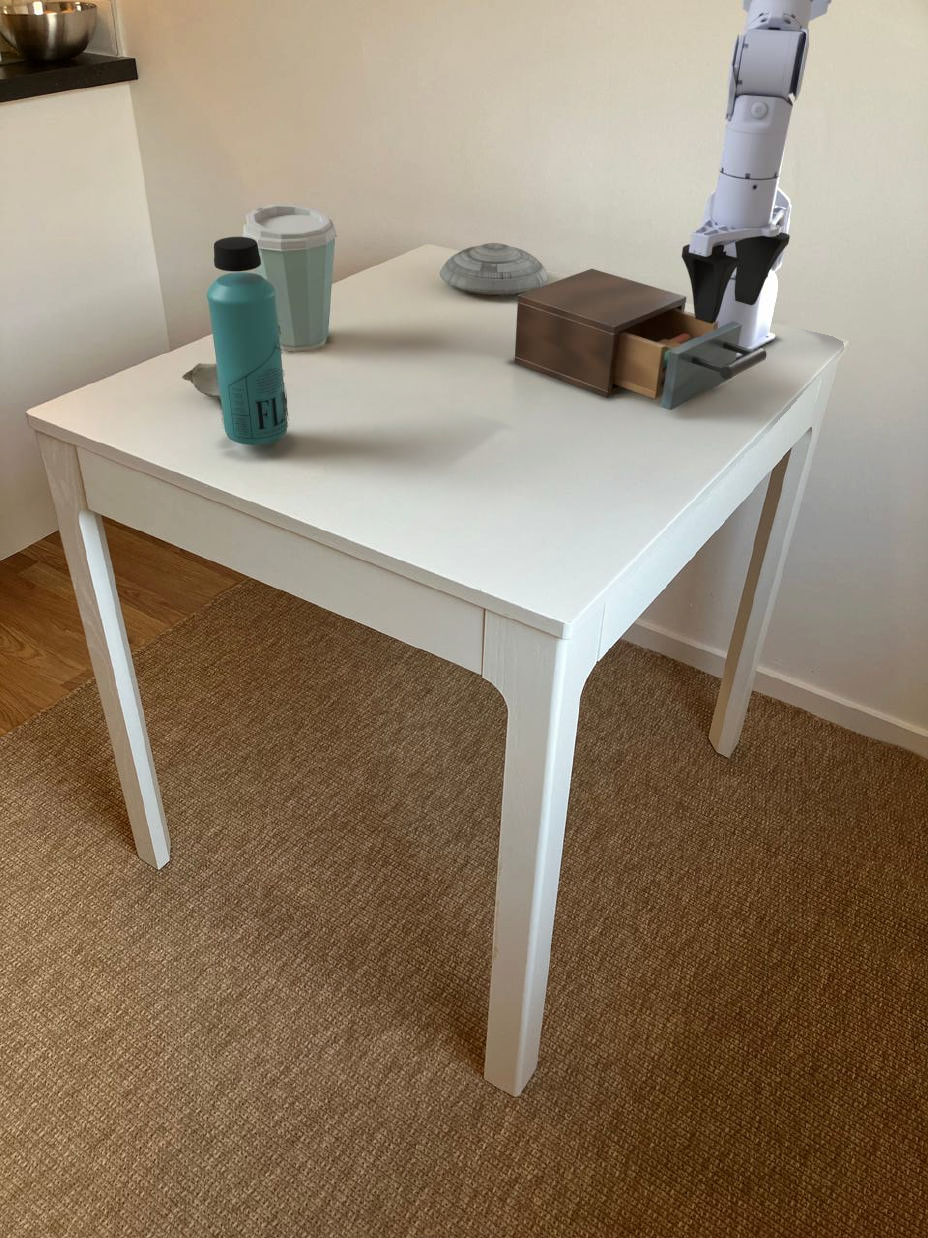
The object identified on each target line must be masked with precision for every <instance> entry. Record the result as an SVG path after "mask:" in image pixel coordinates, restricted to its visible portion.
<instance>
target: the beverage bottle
mask: <svg viewBox="0 0 928 1238" xmlns="http://www.w3.org/2000/svg"><path fill="white" fill-rule="evenodd" d="M213 255H214V256H213V264H214V267H215V268H216V269H218V270H220V271H224V272H230V273H226V274H223V275H220V276H219V277H218V278H217V279H215V280H214V281H213V282H212V284H211V285H210V286H209V288H208V289H207V291H206V299H207V303H208V309H209V317H210V324H211V333H212V339H213V347H214V356H215V363H214V364H215V365H216V364H217V375H218V382H219V389H218V391H219V390H220V397H219V398H218V400H220V402H219V409H220V410H219V411H220V415H221V416H220V417H221V422H222V424H223V429H224V432H225V434H226V436H227V438H228V439H229V440H231V441H233V442H234V443H237V444H241V445H246V446H259V445H260V446H261V445H266V444H270V443H274V442H277V441H279V440H281V439H282V438H284V436H285V435H286V434H287V431H288V427H289V425H290V424H289V422H290V418H289V411H288V396H287V390H285V389H286V387H287V385H285V383H286V382H285V381H284V377H285V370H284V369H283V360H282V354H283V353H284V352H283V351H284V350H282V349H281V348H280V346H281V345H282V344H281V345H280V337H279V336H280V335H279V333H280V332H279V330H281V329H280V326H278V319H277V309H276V300H275V295H276V291H275V288H274V287H273V285H272V284H271V283H269V282H268V281H267V280H266V279H265V278H263V277H262V276H260V275H258V274H255V272H254V273H253V272H248V271H251V270H254V269H255V268H257V267H259V266H260V265H261V258H260V255H259V249H258V244H257V241H256V240H254V239H251V238H247V237H243V236H229V237H223V238H220V239H217V240H216V241H215V242H214V243H213ZM278 318H279V317H278ZM279 322H280V321H279ZM280 334H281V333H280ZM281 342H282V341H281ZM281 347H282V346H281ZM215 373H216V372H215ZM218 382H217V383H218ZM217 386H218V385H217ZM218 394H219V393H218ZM220 398H221V399H220Z"/></svg>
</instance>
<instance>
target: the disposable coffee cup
mask: <svg viewBox="0 0 928 1238" xmlns="http://www.w3.org/2000/svg"><path fill="white" fill-rule="evenodd" d="M245 217H246V223H245V224H243V226H242V227H243V231H242V232H243V233H242V237H247V238H251V239H254V240H256V241H257V244H258V249H259V255H260V258H261V265H260V266H259V267H257V268H255V269H253V270H254V274H258V275H260V276H262V277H263V278H265V279H266V280H267V281H268V282H269V283H271V284H272V285H273V287H274V288H275V291H276V295H275V300H276V309H277V319H278V326H280V329H281V330H279V332H280V333H281V334H280V333H279V335H280V336H279V337H280V345H281V344H282V345H281V346H282V347H281V346H280V348H281V350H282V351H288V352H295V353H297V352H299V353H301V352H310V351H314V350H316V349H319V348H321V347H323V345H324V344H325V343H327V338H328V337H329V332H330V331H329V330H330V329H329V328H330V315H331V302H332V288H333V287H332V286H333V273H334V259H335V246H336V238H337V237H338V235H337V231H336V228H335V227H336V226H335V225H334V222H333V220H332V219H330V218H329V215H328V214H326V213H324V212H323V211H321V210H318V209H316V208H313V207H308V206H304V205H299V204H289V203H288V204H287V203H286V204H284V203H273V204H269V205H265V206H261V207H257V208H255V209H253V210H251V211H250V212H248V213H247V214H245ZM278 317H279V318H278ZM279 321H280V322H279ZM281 341H282V342H281Z"/></svg>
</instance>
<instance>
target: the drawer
mask: <svg viewBox="0 0 928 1238" xmlns="http://www.w3.org/2000/svg"><path fill="white" fill-rule="evenodd" d="M718 323H719V321H716V322H714V323H712V324H710V323H707V322H704V321H701V320H697V319H695V313H693V312H689V311H686V310H684V311H683V310H680V309H677V308H674V309H671V310H669V311H667V312H664V313H662V314H660V315H657V316H655V317H653V318H650V319H648V320H645V321H643V322H641V323H638V324H636V325H634V326H631V327H629V328H627V329H624V330H622V331H620V332H618V339H617V348H616V357H615V366H614V375H613V384H615V385H618V386H621V387H624V388H626V389H627V390H629V391H632V392H635V393H638V394H640V395H643V396H646V397H649V398H650V399H653V400H656V399H657V398H660V397H661V396H662V399H661V404H660V405H661V407H660V408H662V409H664V410H667V411H673V410H674V409H676V408H678V407H679V406H682V405H683V404H685V403H688V402H689V401H692V400H693V399H695V398H697V397H699V396H700V395H703V394H704V393H706V392H708V391H710V390H712V389H714V388H715V387H718V386H720V385H721V384H723V383H725V382H727V381H729V380H731V379H733V378H734V377H735V376H737V375H739V374H741V373H743V372H745V371H746V370H749V369H750V368H752V367H754V366H756V365H758V364H759V363H762V362H764V361H765V360H766V359H767V357H768V356H767V351H766V350H765V349H764V348H762V347H757V348H755V349H753V350H751V349H748V348H744V347H741V346H738V344H739V338H740V333H741V327H742V324H741V323H737V322H734V321H732V322H730V323H728V324H726V325H724V326H722V327H719V328H718ZM684 333H686V334H688V335H690V337H691V339H693V338H695V337H698V338H696V339H694V340H692V341H690V342H687V343H685V344H683V345H681V346H679V347H677V348H675V349H673V350H670V351H669V356H668V363H667V370H666V377H665V381H664V382H662V383H661V378H662V371H663V364H664V357H665V350H666V345H663V344H659V343H656V342H659V341H661V340H663V339H667V340H670V339H672V338H675V337H677V336H679V335H681V334H684ZM737 353H740V354H743V355H741V356H740V357H738V358H736V355H737ZM626 389H625V390H626Z"/></svg>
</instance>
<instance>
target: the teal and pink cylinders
mask: <svg viewBox="0 0 928 1238" xmlns="http://www.w3.org/2000/svg"><path fill="white" fill-rule="evenodd" d="M696 338H698V337H695V338H693V339H691V337H690V335H688V334H686V333H684V334H681V335H679V336H677V337H675V338H672V339H670V340H667V339H663V340H661V341H659V342H656V343H659V344H663V345H666V350H665V357H664V364H663V371H662V378H661V383H662V382H664V381H665V377H666V370H667V363H668V356H669V351H670V350H673V349H675V348H677V347H679V346H681V345H683V344H685V343H687V342H690V341H692V340H694V339H696Z"/></svg>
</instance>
